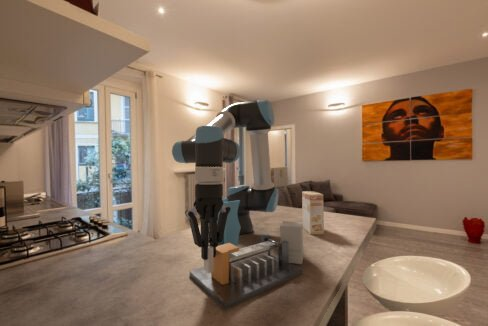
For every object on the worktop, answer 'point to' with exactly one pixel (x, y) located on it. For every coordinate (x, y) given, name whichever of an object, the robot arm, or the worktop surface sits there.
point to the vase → (231, 224)
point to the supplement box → (293, 240)
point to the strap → (253, 250)
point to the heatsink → (249, 276)
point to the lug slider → (222, 262)
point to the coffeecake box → (313, 212)
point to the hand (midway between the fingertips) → (208, 270)
